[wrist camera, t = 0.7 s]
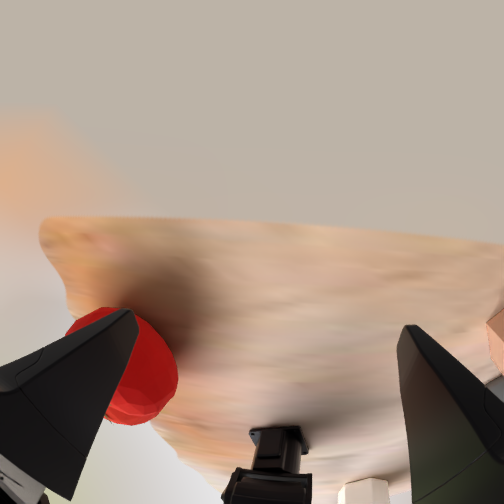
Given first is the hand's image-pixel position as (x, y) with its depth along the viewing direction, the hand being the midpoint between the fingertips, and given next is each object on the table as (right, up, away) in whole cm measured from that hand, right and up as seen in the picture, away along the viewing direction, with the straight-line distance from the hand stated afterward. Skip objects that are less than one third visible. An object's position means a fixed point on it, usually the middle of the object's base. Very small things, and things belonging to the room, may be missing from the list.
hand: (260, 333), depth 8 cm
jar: (+19, -38, +23) cm, 48 cm away
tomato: (-13, -8, +21) cm, 26 cm away
